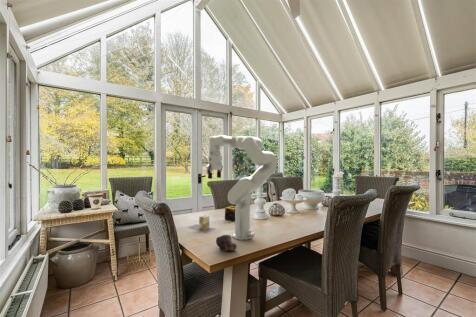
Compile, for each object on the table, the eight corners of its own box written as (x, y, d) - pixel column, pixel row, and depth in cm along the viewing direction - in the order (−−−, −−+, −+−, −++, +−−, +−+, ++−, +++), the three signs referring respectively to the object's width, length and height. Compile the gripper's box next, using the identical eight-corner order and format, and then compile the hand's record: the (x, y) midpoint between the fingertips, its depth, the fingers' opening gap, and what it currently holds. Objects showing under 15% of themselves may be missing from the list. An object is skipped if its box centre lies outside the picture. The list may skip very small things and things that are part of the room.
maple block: (209, 228, 158) (209, 216, 158) (204, 230, 154) (204, 217, 154) (204, 227, 161) (204, 215, 161) (199, 229, 157) (199, 216, 157)
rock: (228, 247, 130) (212, 250, 124) (227, 232, 131) (211, 234, 126) (238, 251, 120) (222, 254, 115) (237, 234, 121) (221, 237, 116)
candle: (233, 221, 178) (233, 209, 178) (224, 219, 185) (224, 207, 185) (241, 219, 187) (241, 207, 187) (232, 217, 193) (232, 205, 193)
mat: (215, 229, 158) (215, 228, 158) (206, 233, 150) (206, 232, 150) (196, 224, 169) (196, 224, 169) (186, 228, 161) (186, 227, 161)
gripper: (210, 153, 148) (210, 179, 148) (226, 154, 163) (226, 177, 163) (202, 153, 153) (202, 178, 153) (218, 154, 167) (218, 177, 167)
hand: (214, 178), depth 158 cm, fingers open, 9 cm apart
